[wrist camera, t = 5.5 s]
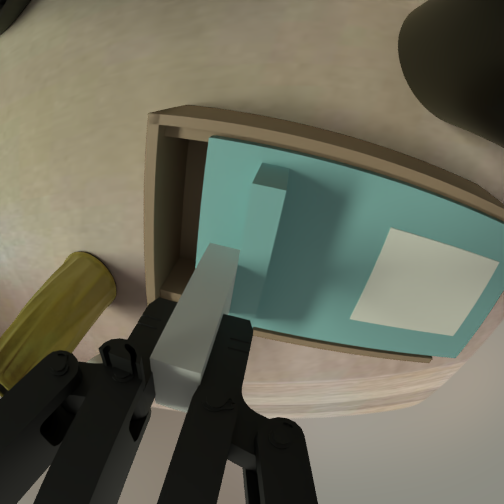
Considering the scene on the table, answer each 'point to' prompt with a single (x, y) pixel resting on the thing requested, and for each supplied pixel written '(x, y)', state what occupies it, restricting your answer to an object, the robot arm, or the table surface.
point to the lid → (348, 251)
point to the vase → (55, 316)
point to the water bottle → (457, 62)
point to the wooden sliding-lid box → (270, 133)
